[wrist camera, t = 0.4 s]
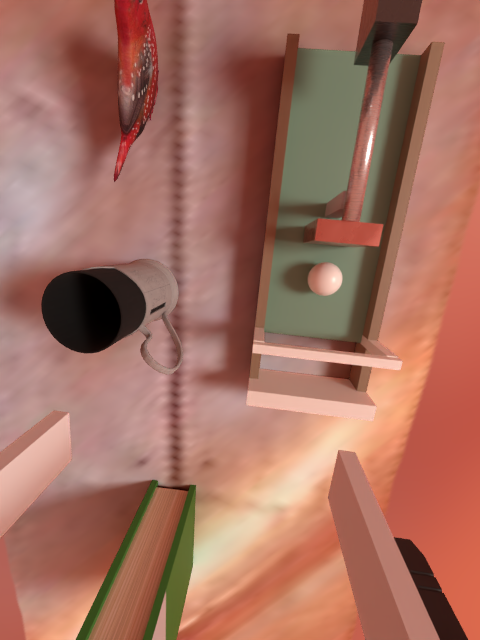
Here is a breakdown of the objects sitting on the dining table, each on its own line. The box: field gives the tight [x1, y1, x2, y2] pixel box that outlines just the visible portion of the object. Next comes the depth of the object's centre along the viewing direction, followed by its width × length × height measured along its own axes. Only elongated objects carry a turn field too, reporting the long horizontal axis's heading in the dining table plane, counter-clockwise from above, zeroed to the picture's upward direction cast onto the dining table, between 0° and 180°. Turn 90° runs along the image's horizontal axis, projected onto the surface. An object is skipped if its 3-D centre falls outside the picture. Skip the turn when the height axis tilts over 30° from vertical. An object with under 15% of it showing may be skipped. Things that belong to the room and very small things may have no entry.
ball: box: [308, 262, 342, 296], centre depth 34 cm, size 4×4×4 cm
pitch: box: [246, 34, 445, 421], centre depth 32 cm, size 40×15×10 cm, turn 175°
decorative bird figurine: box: [114, 0, 159, 182], centre depth 30 cm, size 3×18×10 cm, turn 164°
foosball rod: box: [303, 0, 422, 248], centre depth 27 cm, size 20×6×10 cm, turn 175°
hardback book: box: [76, 480, 196, 640], centre depth 38 cm, size 18×7×24 cm, turn 176°
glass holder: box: [42, 259, 183, 374], centre depth 33 cm, size 9×14×15 cm, turn 47°
